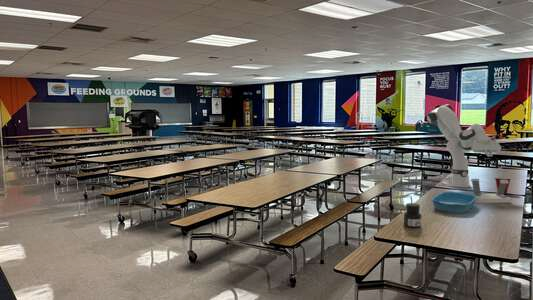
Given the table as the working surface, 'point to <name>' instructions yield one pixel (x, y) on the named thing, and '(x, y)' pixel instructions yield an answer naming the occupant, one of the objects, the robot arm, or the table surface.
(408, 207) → the ink bottle
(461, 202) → the casserole dish
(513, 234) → the table surface
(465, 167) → the robot arm
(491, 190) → the table surface
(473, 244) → the table surface
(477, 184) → the lever
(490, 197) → the switch panel
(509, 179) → the plastic cup
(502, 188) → the lever
